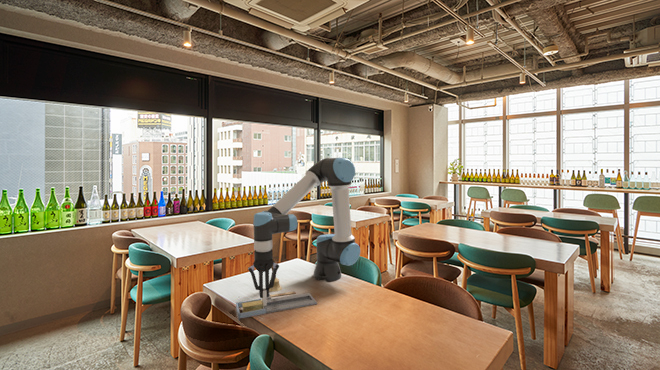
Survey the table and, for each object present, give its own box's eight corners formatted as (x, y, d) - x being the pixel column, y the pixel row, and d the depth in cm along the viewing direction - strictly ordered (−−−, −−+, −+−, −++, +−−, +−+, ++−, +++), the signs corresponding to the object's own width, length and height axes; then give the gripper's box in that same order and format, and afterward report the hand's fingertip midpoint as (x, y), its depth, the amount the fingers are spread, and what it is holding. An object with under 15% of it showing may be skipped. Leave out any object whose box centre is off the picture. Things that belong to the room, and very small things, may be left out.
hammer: (294, 293, 149) (294, 290, 149) (296, 297, 144) (296, 294, 144) (266, 297, 144) (265, 294, 144) (267, 301, 140) (267, 298, 140)
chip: (251, 308, 132) (251, 301, 131) (253, 312, 128) (253, 305, 128) (242, 310, 130) (242, 303, 130) (243, 314, 126) (243, 307, 126)
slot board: (309, 296, 145) (309, 292, 145) (317, 306, 135) (317, 302, 134) (261, 304, 137) (261, 300, 136) (266, 315, 126) (266, 311, 126)
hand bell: (274, 295, 146) (273, 262, 145) (262, 291, 151) (261, 259, 150) (286, 290, 153) (286, 258, 151) (274, 286, 158) (274, 255, 156)
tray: (261, 304, 136) (260, 298, 136) (265, 315, 126) (265, 309, 126) (235, 309, 132) (235, 302, 132) (238, 320, 122) (238, 314, 122)
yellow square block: (261, 306, 133) (261, 300, 133) (263, 310, 129) (262, 303, 129) (251, 308, 132) (251, 301, 131) (253, 312, 128) (253, 305, 128)
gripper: (276, 245, 136) (277, 298, 137) (246, 249, 131) (247, 303, 132) (280, 250, 129) (281, 305, 130) (248, 253, 124) (249, 311, 126)
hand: (264, 304), depth 131 cm, fingers closed
